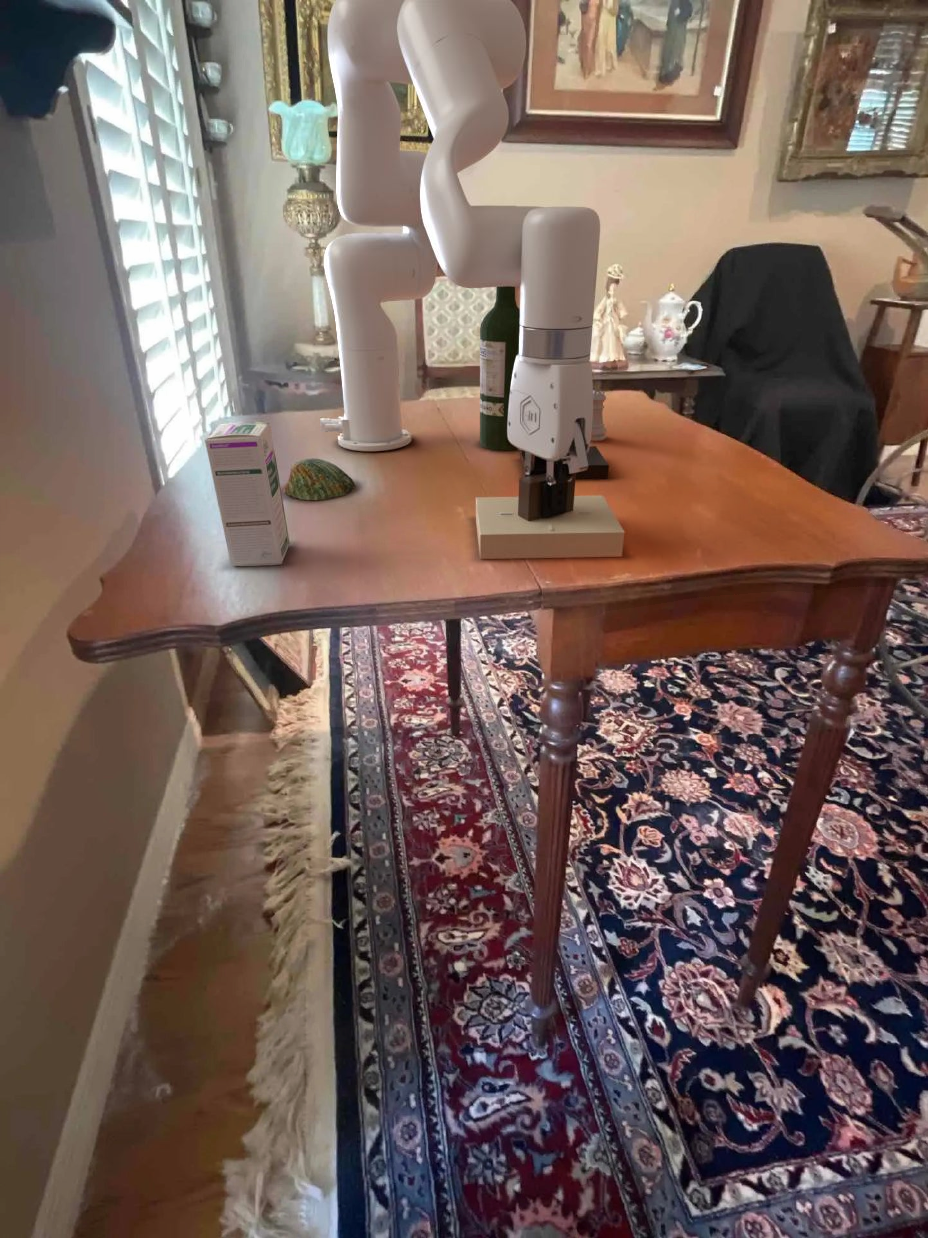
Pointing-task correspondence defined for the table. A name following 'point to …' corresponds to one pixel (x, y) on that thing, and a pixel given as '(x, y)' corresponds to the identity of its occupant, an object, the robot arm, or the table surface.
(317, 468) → the seashell
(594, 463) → the button block
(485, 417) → the wine bottle
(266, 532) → the syrup box
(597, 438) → the rook chess piece
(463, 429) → the table surface
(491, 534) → the panel
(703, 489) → the table surface
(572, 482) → the handle
